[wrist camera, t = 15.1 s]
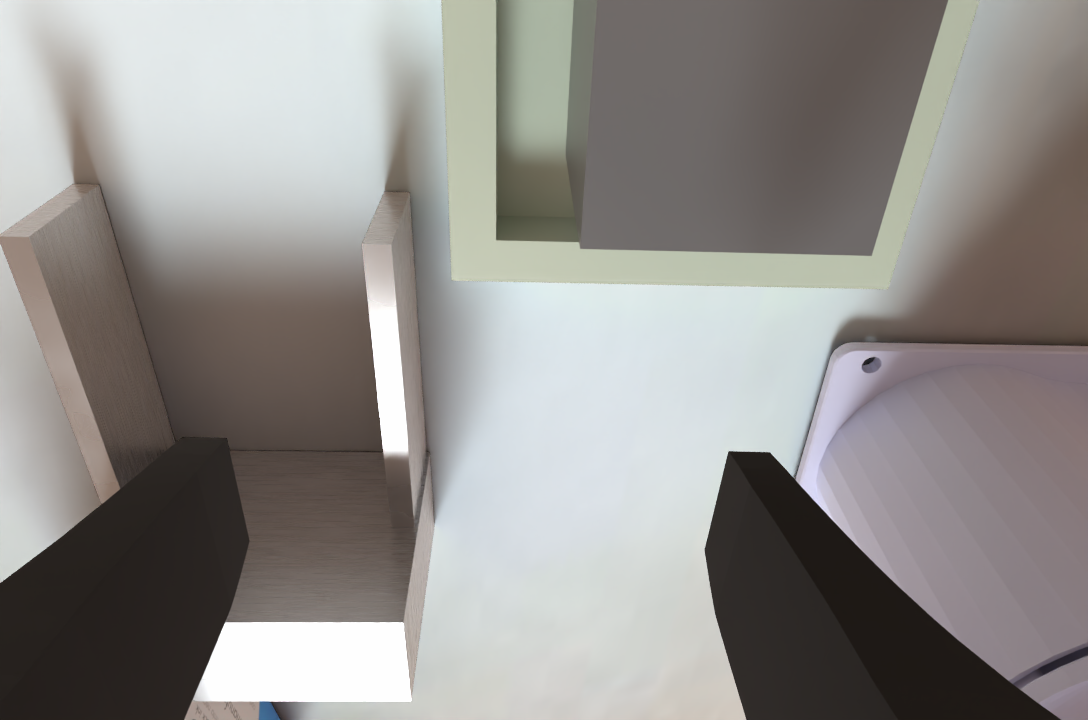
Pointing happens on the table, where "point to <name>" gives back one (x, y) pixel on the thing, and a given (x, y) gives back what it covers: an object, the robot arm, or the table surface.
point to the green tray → (542, 175)
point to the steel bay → (259, 466)
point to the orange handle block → (742, 121)
